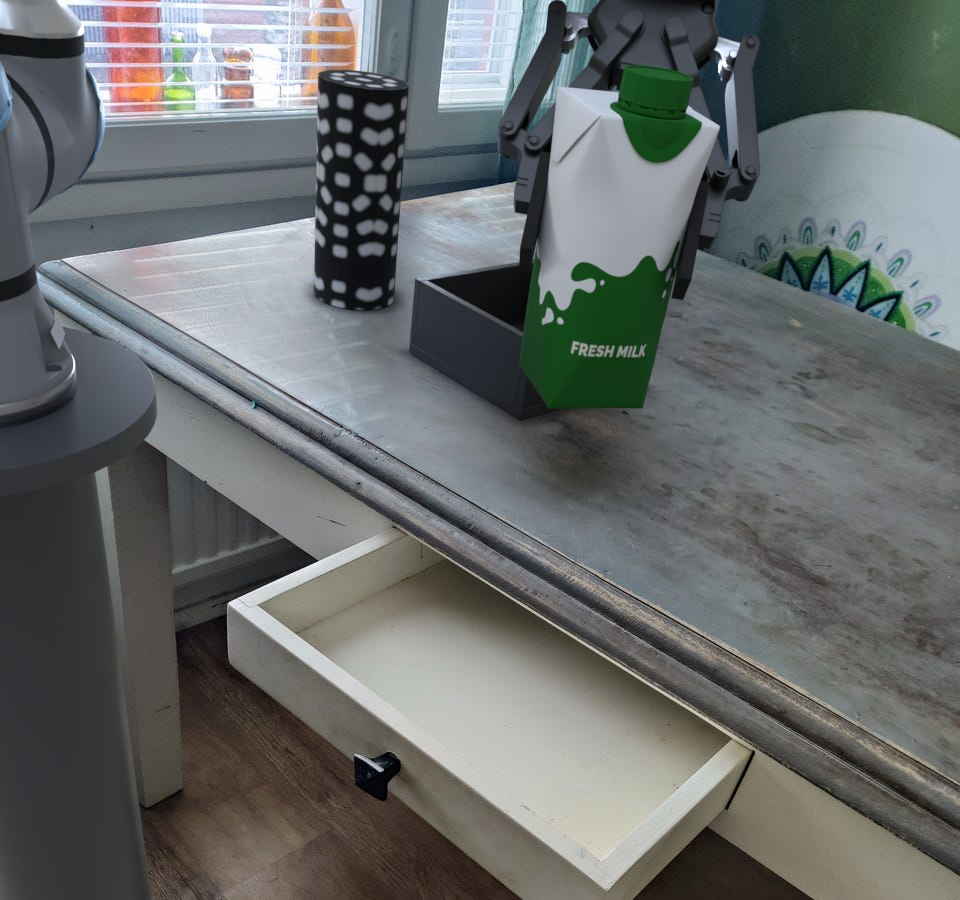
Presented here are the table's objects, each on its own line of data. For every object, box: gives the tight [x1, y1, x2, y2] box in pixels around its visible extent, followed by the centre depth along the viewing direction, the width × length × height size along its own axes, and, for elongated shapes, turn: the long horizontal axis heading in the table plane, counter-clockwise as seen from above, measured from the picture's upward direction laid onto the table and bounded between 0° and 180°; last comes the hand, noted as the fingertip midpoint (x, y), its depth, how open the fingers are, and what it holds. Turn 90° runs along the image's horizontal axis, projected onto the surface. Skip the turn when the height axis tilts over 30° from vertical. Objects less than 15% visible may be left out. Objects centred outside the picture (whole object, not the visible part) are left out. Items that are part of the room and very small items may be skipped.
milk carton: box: [519, 65, 721, 410], centre depth 63 cm, size 9×9×20 cm
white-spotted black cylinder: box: [313, 69, 410, 311], centre depth 97 cm, size 8×8×20 cm
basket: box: [408, 259, 561, 421], centre depth 91 cm, size 16×16×7 cm
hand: (603, 274), depth 62 cm, fingers closed on milk carton, 9 cm apart
